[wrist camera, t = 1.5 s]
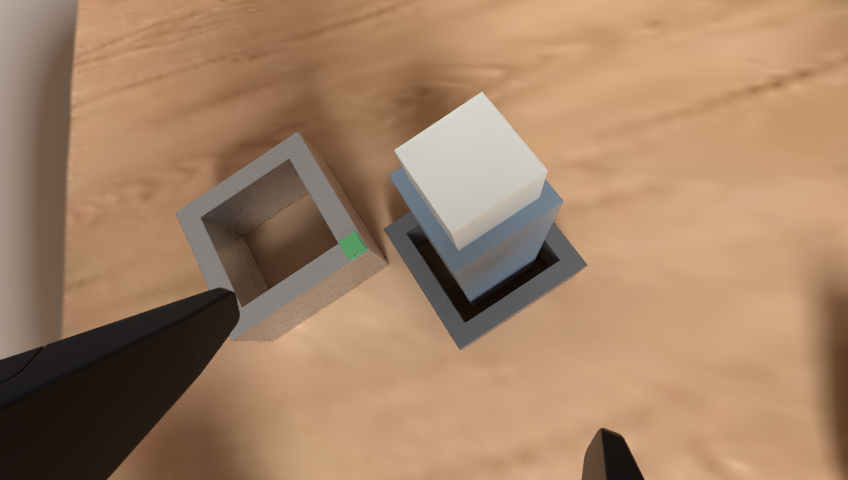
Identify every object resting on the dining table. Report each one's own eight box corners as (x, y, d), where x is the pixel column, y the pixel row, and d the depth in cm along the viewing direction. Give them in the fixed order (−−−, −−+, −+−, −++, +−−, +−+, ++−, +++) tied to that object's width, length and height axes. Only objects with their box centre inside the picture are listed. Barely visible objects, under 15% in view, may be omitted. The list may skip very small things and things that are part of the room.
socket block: (272, 341, 24) (226, 340, 20) (221, 231, 27) (170, 210, 22) (389, 264, 24) (366, 247, 20) (326, 161, 27) (294, 127, 22)
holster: (464, 348, 22) (459, 349, 19) (396, 242, 24) (383, 228, 21) (575, 275, 22) (587, 265, 19) (497, 175, 24) (498, 152, 21)
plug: (472, 306, 23) (446, 260, 10) (434, 249, 24) (370, 147, 11) (531, 267, 23) (575, 174, 10) (490, 212, 24) (486, 70, 11)
